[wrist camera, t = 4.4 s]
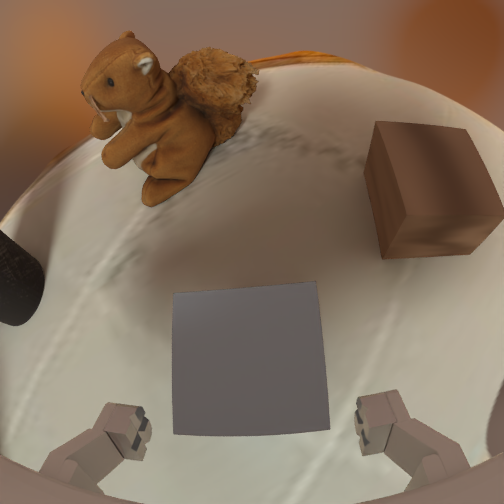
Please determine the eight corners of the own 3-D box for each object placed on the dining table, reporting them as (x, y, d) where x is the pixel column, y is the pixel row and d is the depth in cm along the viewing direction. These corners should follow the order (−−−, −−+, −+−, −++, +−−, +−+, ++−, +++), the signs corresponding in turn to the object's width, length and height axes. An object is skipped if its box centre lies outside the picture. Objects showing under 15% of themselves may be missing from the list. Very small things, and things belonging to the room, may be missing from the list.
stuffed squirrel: (114, 153, 30) (58, 55, 18) (234, 99, 31) (211, -9, 19) (131, 221, 25) (46, 106, 13) (278, 152, 26) (265, 14, 15)
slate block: (303, 335, 19) (316, 280, 10) (309, 411, 17) (330, 429, 8) (226, 341, 20) (173, 292, 11) (229, 416, 18) (173, 434, 9)
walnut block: (442, 175, 24) (465, 129, 18) (469, 255, 20) (506, 215, 15) (363, 173, 25) (375, 120, 19) (381, 260, 21) (407, 215, 16)
